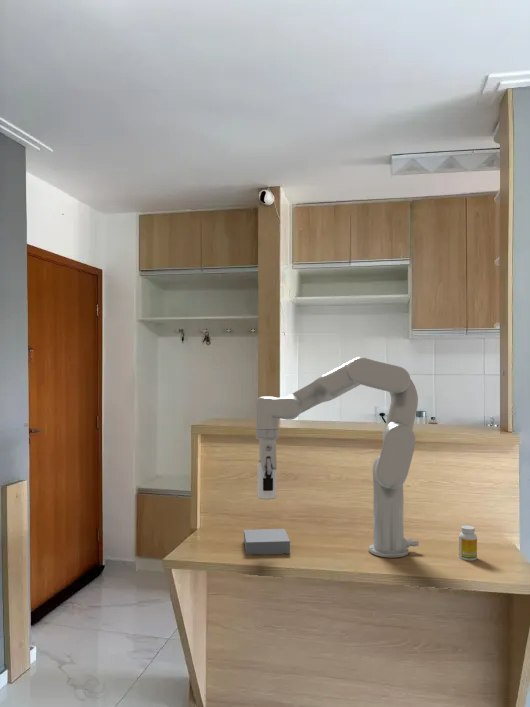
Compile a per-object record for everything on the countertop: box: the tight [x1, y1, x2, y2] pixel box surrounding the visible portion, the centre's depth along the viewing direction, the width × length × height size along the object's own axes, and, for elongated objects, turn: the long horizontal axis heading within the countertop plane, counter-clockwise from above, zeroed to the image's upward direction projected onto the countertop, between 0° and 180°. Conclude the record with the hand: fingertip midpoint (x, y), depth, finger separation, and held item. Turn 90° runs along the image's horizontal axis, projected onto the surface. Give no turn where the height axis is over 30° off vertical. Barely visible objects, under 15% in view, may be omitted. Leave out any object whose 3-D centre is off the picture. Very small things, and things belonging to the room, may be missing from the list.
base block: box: [243, 528, 291, 556], centre depth 191 cm, size 14×14×4 cm
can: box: [256, 459, 278, 500], centre depth 191 cm, size 6×6×12 cm
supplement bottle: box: [458, 525, 478, 562], centre depth 181 cm, size 5×5×10 cm
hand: (267, 487), depth 191 cm, fingers closed on can, 6 cm apart
